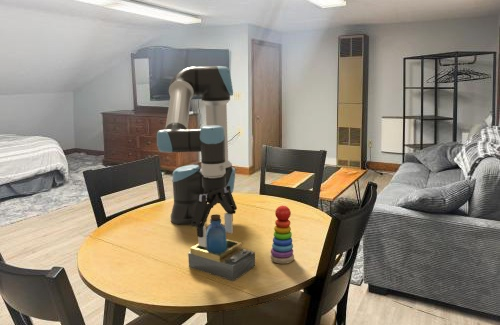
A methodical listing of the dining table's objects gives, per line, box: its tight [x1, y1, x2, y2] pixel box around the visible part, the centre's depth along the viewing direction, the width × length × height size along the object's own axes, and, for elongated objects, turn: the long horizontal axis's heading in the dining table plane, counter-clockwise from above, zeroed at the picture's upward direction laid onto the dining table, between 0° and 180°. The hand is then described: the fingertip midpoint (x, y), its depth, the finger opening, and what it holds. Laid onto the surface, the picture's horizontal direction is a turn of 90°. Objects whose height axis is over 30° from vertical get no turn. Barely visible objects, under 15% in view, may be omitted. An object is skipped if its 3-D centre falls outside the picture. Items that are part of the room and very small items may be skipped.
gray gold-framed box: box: [187, 238, 256, 282], centre depth 136 cm, size 18×12×7 cm, turn 56°
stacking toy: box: [269, 205, 295, 265], centre depth 140 cm, size 8×8×19 cm
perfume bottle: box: [206, 214, 227, 254], centre depth 136 cm, size 6×6×12 cm
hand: (216, 238), depth 136 cm, fingers open, 13 cm apart
